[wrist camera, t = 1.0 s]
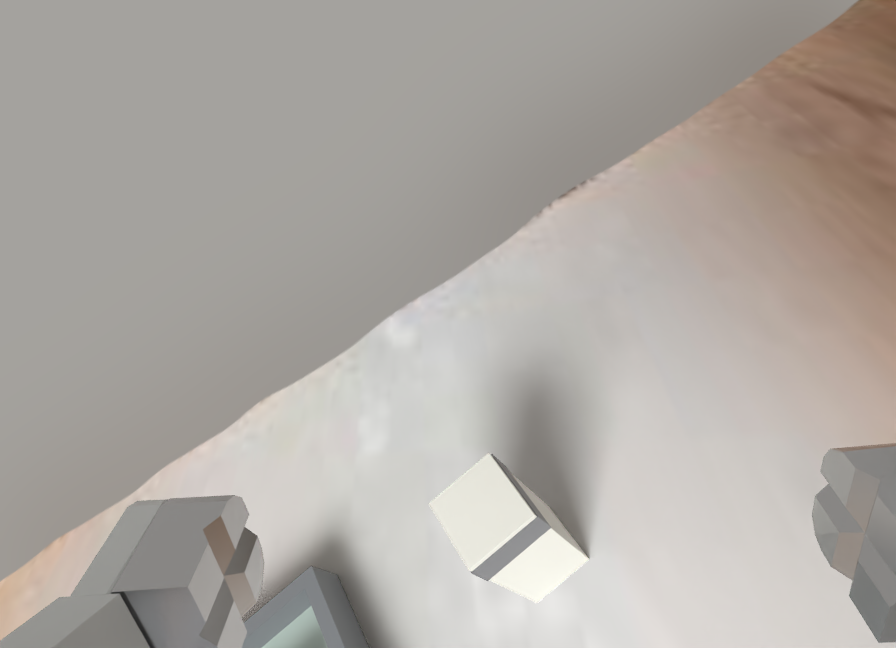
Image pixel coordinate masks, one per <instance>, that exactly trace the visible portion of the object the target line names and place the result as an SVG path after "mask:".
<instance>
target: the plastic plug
mask: <svg viewBox="0 0 896 648" xmlns="http://www.w3.org/2000/svg"><path fill="white" fill-rule="evenodd" d="M429 506H430V507H431V509H432V511H433V512H434V514H435V516H436V517H437V519H438V521H439V522H440V524H441V526H442V527H443V529H444V531H445V532H446V534H447V535H448V537H449V539H450V540H451V542H452V544H453V545H454V547H455V549H456V550H457V552H458V554H459V555H460V557H461V559H462V560H463V562H464V564H465V565H466V567H467V569H468V570H469V571H470V572H471V573H472V574H474V575H476V576H478V577H480V578H482V579H484V580H486V581H488V580H490V581H492V582H494V583H496V584H498V585H500V586H502V587H504V588H506V589H508V590H510V591H512V592H515V593H517V594H519V595H521V596H523V597H525V598H527V599H529V600H531V601H533V602H535V603H538V602H540V601H541V600H542V599H543V598H544V597H546V596H547V595H548V594H549V593H550V592H552V591H553V590H554V589H555V588H556V587H557V586H559V585H560V584H561V583H562V582H563V581H565V580H566V579H567V578H568V577H569V576H571V575H572V574H573V573H574V572H575V571H577V570H578V569H579V568H580V567H581V566H582V565H584V564H585V563H586V562H587V561H588V560H590V559H589V558H588V557H587V556H586V554H585V553H584V552H583V550H582V549H581V548H580V546H579V545H578V544H577V542H576V541H575V540H574V539H573V537H572V536H571V535H570V533H569V532H568V531H567V529H566V528H565V527H564V525H563V524H562V523H561V522H560V520H559V519H558V518H557V516H556V515H555V514H554V512H553V511H552V510H551V508H550V507H549V506H548V505H547V504H546V503H545V502H543V501H542V500H541V499H540V498H539V497H538V496H537V495H536V494H534V493H533V492H532V491H531V490H530V489H529V488H528V487H527V486H525V485H524V484H523V483H522V482H521V481H520V480H519V479H518V478H517V477H515V476H514V475H513V474H512V473H511V472H510V471H509V470H508V469H507V467H506V466H505V465H504V464H503V463H501V462H500V461H499V460H498V459H497V458H496V457H495V456H494V455H493V454H490V453H488V454H487V455H485V456H484V457H483V458H482V459H481V460H479V461H478V462H477V463H476V464H475V465H474V466H472V467H471V468H470V469H469V470H468V471H466V472H465V473H464V474H463V475H462V476H461V477H459V478H458V479H457V480H456V481H455V482H453V483H452V484H451V485H450V486H449V487H447V488H446V489H445V490H444V491H443V492H442V493H440V494H439V495H438V496H437V497H436V498H434V499H433V500H432V501H431V502H430V503H429Z"/></svg>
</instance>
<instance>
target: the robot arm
mask: <svg viewBox="0 0 896 648" xmlns="http://www.w3.org/2000/svg"><path fill="white" fill-rule="evenodd" d="M820 472H821V473H822V475H823V476H824V477H825V479H826V480H827V482H828V483H829V484H828V485H827V486H826V487H825V488H823V489H822V490H821V491H820V492H819V493H818V494H817V495H816V496H815V500H814V506H813V512H812V518H813V524H814V530H815V536H816V538H817V541H818V543H819V546H820V548H821V551H822V552H823V554H824V556H825V557H826V559H827V561H828V562H829V564H830V566H831V567H832V568H834V569H836V570H837V571H839V572H840V573H842V574H843V575H845V576H846V577H848V578H850V579H851V580H852V585H851V589H850V594H849V596H850V598H851V600H852V601H853V603H854V604H855V606H856V607H857V609H858V611H859V612H860V614H861V615H862V617H863V619H864V620H865V622H866V623H867V625H868V626H869V628H870V630H871V631H872V633H873V634H874V636H875V638H876V639H877V641H878V642H879V643H885V642H896V443H892V444H880V445H868V446H857V447H845V448H833V449H830V450H829V451H828V452H827V453H826V455H825V456H824V458H823V462H822V466H821V471H820ZM248 516H249V513H248V510H247V508H246V506H245V503H244V501H243V499H242V498H241V497H238V496H235V495H229V496H210V497H191V498H172V499H169V500H148V501H137V502H135V503H134V504H132V505H130V506H129V507H127V509H126V510H125V512H124V513H123V515H122V516H121V518H120V520H119V521H118V523H117V524H116V526H115V527H114V529H113V530H112V532H111V534H110V535H109V537H108V538H107V540H106V541H105V543H104V544H103V546H102V548H101V549H100V551H99V552H98V554H97V555H96V557H95V558H94V560H93V562H92V563H91V565H90V566H89V568H88V569H87V571H86V572H85V574H84V575H83V577H82V579H81V580H80V582H79V583H78V585H77V586H76V588H75V589H74V591H73V593H72V594H71V596H70V597H59V598H58V599H56V600H55V601H54V602H52V603H51V604H50V605H48V606H47V607H45V608H44V609H43V610H41V611H40V612H39V613H37V614H36V615H35V616H33V617H32V618H30V619H29V620H28V621H26V622H25V623H24V624H22V625H21V626H20V627H18V628H17V629H16V630H14V631H13V632H11V633H10V634H9V635H7V636H6V637H5V638H3V639H2V640H1V641H0V648H242V645H243V642H244V640H245V637H246V634H247V630H246V628H245V625H244V623H243V620H242V617H243V616H244V615H245V614H246V613H247V612H248V611H249V610H250V609H251V608H252V607H253V606H254V605H255V604H256V603H257V600H258V597H259V594H260V591H261V587H262V583H263V572H264V559H263V552H262V547H261V544H260V541H259V539H258V536H257V535H255V534H254V533H252V532H251V531H250V530H248V529H247V528H245V527H244V526H245V524H246V521H247V519H248Z"/></svg>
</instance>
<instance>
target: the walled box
mask: <svg viewBox="0 0 896 648" xmlns="http://www.w3.org/2000/svg"><path fill="white" fill-rule="evenodd" d="M244 625H245V628H246V630H247V634H246V637H245V640H244V642H243V645H242V648H369V646H368V644H367V642H366V640H365V637H364V635H363V633H362V630H361V628H360V626H359V624H358V621H357V619H356V617H355V614H354V612H353V610H352V608H351V605H350V603H349V601H348V599H347V596H346V594H345V592H344V589H343V587H342V585H341V583H340V580H339V578H338V576H337V574H334V573H331V572H328V571H325V570H322V569H319V568H316V567H313V566H310V567H309V568H308V569H307V570H306V571H305V572H303V573H302V574H301V575H300V576H299V577H297V578H296V579H295V580H294V581H293V582H292V583H290V584H289V585H288V586H287V587H286V588H284V589H283V590H282V591H281V592H280V593H279V594H277V595H276V596H275V597H274V598H273V599H271V600H270V601H269V602H268V603H267V604H266V605H264V606H263V607H262V608H261V609H260V610H258V611H257V612H256V613H255V614H254V615H252V616H251V617H250V618H249V619H248V620H247V621H245V622H244Z"/></svg>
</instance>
